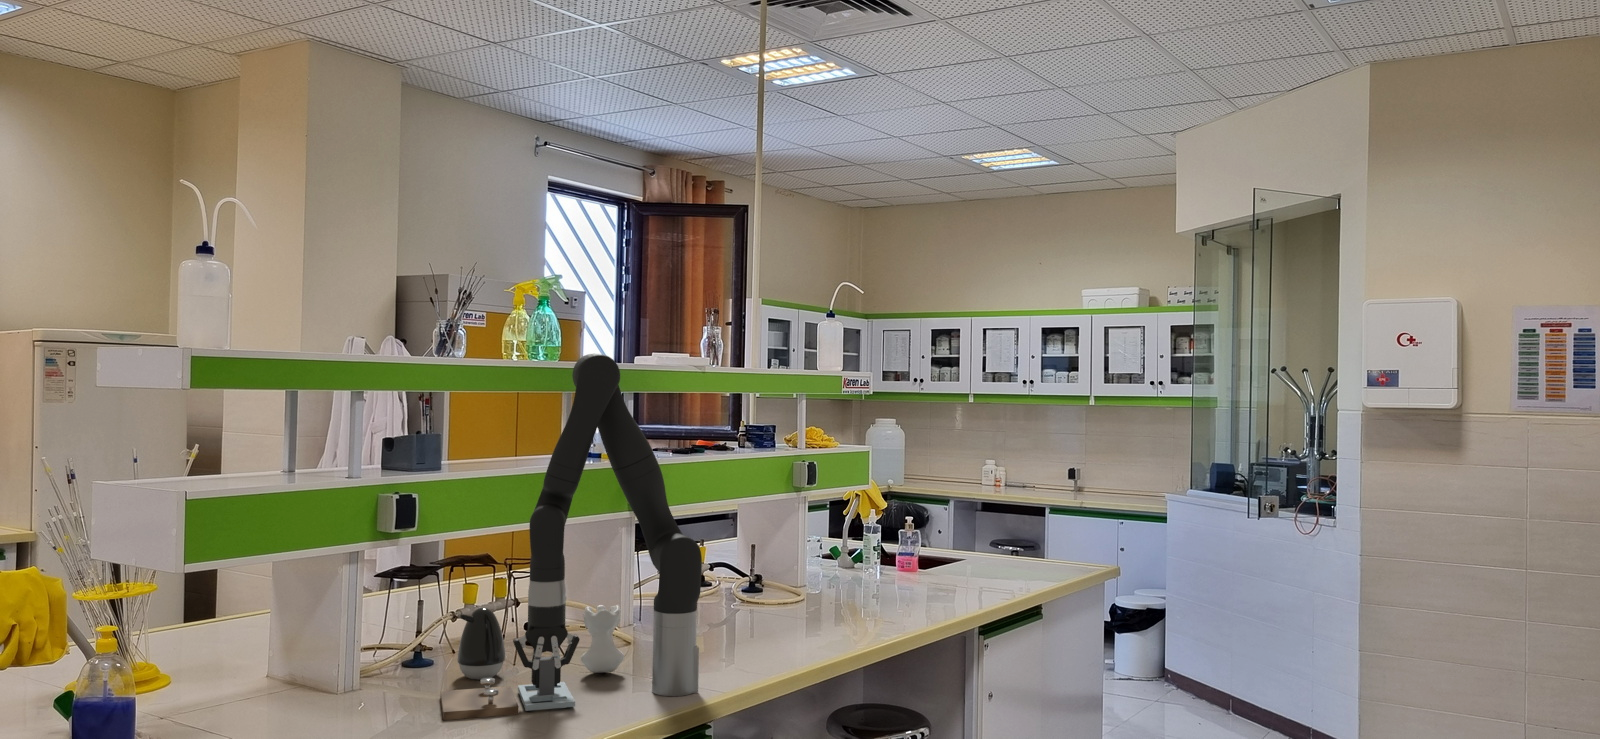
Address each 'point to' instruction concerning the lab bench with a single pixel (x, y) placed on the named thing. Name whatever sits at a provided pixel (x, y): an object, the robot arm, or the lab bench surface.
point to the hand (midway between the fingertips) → (545, 686)
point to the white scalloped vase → (602, 639)
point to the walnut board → (478, 701)
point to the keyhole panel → (556, 698)
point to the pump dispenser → (481, 645)
